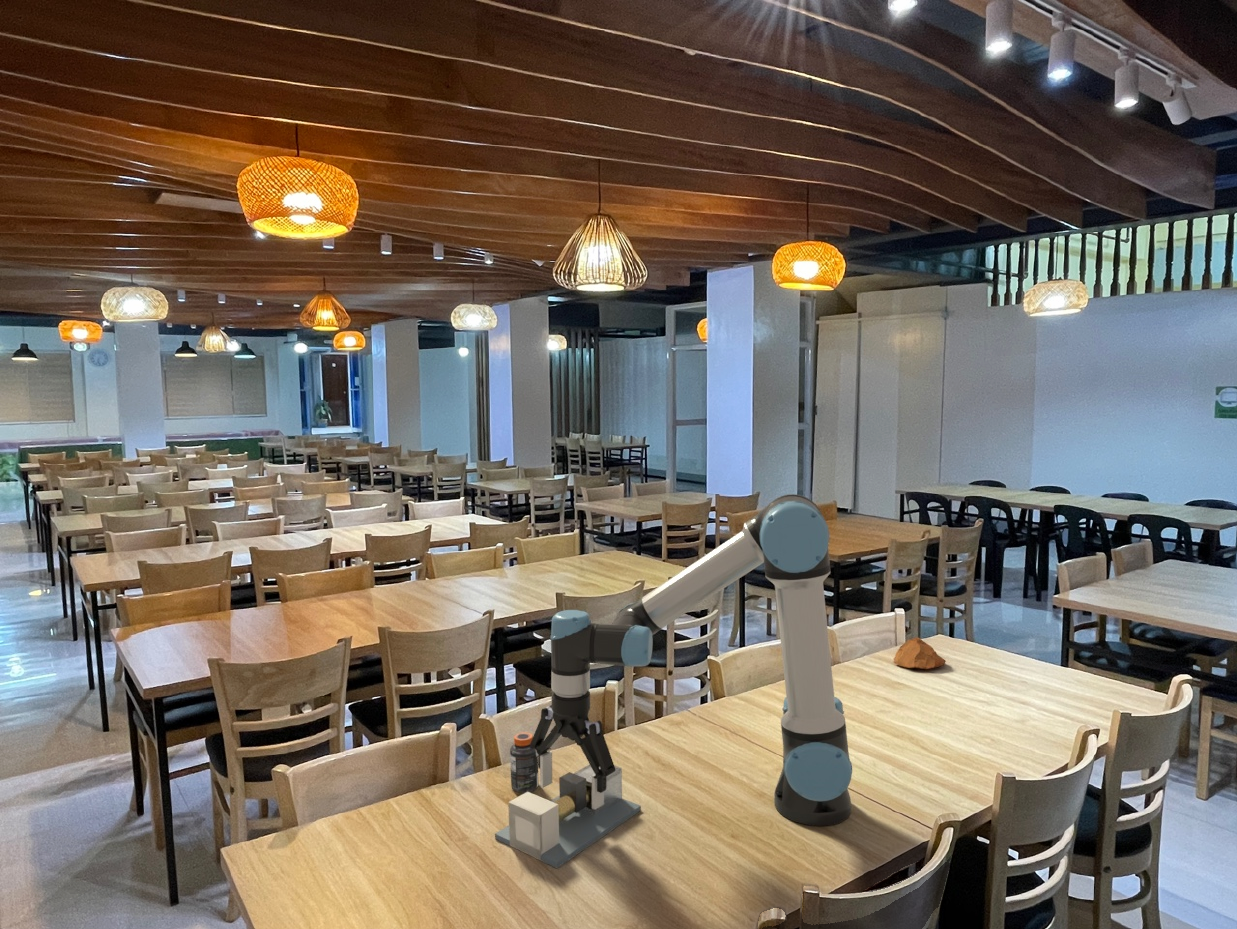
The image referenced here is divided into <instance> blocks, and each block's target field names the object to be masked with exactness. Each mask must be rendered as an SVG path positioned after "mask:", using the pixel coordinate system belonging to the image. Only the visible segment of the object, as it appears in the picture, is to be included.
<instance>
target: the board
mask: <svg viewBox="0 0 1237 929" xmlns="http://www.w3.org/2000/svg"><path fill="white" fill-rule="evenodd" d="M559 798H560V795H558V796H556V797H554V798H553V799H552V800H550V801H551V802H554V801H556V800H558V799H559ZM641 807H642V805H640V804H638V803H635V802H633V801H629V800H627V799H625V798H622V799H621V800H619V801H618V802H616V803H614V804H613V805H611V806H610V807H608V808H607V809H605V810H604V811H602V812H601V813H599V814H598V815H596V816H595V815H593V814H590V813H588V812H585V811H583V810H581V811H579V812H577V813H575V812H574V813H572V814H571V815H569V816H567V817H566V818H564V819H563V820H561V821H559V843H558V844H557V845H555V846H554V847H552V848H551V849H549V850H548V851H546V852H545V853H543V854H542V855H540V857H541V861H540V862H542V863H545V864H547V865H549V866H551V867H553V868H556V869H559V867H561V866H563V865H564V864H566V862H568V861H570V860H571V859H572V858H574V857H575V856H577V855H578V854H580V853H582V851H584V850H586V849H587V848H588V847H590V846H591V845H593V844H594V843H596V842H598V841H599V840H601V838H603V837H604V836H606V835H607V834H608V833H610V832H612V831H613V830H615V829H616V828H617V827H619V826H620V825H622V824H623V823H625V822H626V821H628V820H629V819H631V818H632V817H634V816H635V815H636V814H638V813H639V812H641V811H642V808H641ZM494 839H495V840H497V841H500V842H501V843H503V844H505V845H507V846H509V847H511V846H510V837H509V825H507V826H506V827H504V828H502V829H501V830H499V831H496V832H495V833H494ZM512 845H514V844H512ZM516 845H517V844H516ZM532 853H533V852H532ZM537 856H538V855H536V857H537Z"/></svg>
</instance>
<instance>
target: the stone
mask: <svg viewBox="0 0 1237 929" xmlns="http://www.w3.org/2000/svg"><path fill="white" fill-rule="evenodd" d="M946 662H947V661H946V660H945V659H944V658H943V657H941V656H940V655H939V654H938V653H937V652H936V651H935V650H934V648H933V647H932V646H931V645H929V644H928V643H927V642H925V641H923V640H922V638H920V637H915V638H910V639H908V640H907V641H906V642H904V643H902V644H901V645H900V646H899V648H898V650H897V651H896V653H895V655H894V658H893V664H896V665H897V666H899V667H904V668H907V669H914V668H915V669H921V670H922V669H923V670H928V669H935V668H938V667H942V666H945V665H946Z"/></svg>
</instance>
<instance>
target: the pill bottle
mask: <svg viewBox="0 0 1237 929" xmlns="http://www.w3.org/2000/svg"><path fill="white" fill-rule="evenodd" d="M533 736H534V734H532V733H530V732H520V733H517V734H515V735H514V736H513V740H514V741H513V744H512V746H510V750H509V761H510V763H509V765H510V786H511V789H512V790H513V791H515V792H518V793H526V792H532V791H535V790H536V789H537V788H538V786H539V785H540V784H539V781H540V780H539V778H540V776H539V766H538V754H537V751H536V750H535V749H532V748H531V747H530V743H531V741H532V738H533Z"/></svg>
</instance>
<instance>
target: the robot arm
mask: <svg viewBox="0 0 1237 929" xmlns="http://www.w3.org/2000/svg"><path fill="white" fill-rule="evenodd" d="M829 543H830V530H829V527H828V524H827V520H825V518H824V516H823V513H822V512H821V510H820V509H819V507H818V506H817V504H816V503H815V502H814V501H812V500H811V499H809V498H808V497H806V496H804V495H801V494H800V495H799V494H792V493H791V494H790V493H789V494H784V495H781V496H778V497H777V498H775V499H773V500H772V501H771V502H770V503H768V504H767V505H766V506H765V507H764V508H763V509H762V510H760V511H759V512H758V513H756V514H755V515H754V516H752V517H751V518H749V519H748V520H746V521H745V522H744V523H743V526H742V530H741V531H739V532H738V533H736V534H735V535H734V536H732V537H731V538H729V539H728V540H726V541H724V542H723V543H722V544H720V545H719V546H717V547H715V548H714V549H712V550H711V551H710V552H708V553H707V554H705V555H703V556H702V557H701V558H699V559H697V560H696V561H694V562H693V563H691V564H690V565H689V566H687V567H685V568H684V569H683V570H681V571H680V572H678V573H676V574H675V575H673V576H672V577H671V578H669V579H668V580H666V581H665V582H663V583H662V584H660V585H659V586H658V587H656V588H654V589H652V590H651V591H650V592H648V593H647V594H644V596H642V597H640V598H639V599H638V600H636V601H635V602H631V603H628V604H627V605H626V606H624V607H623V608H621V609H620V610H619V611H618V613H617V614H616V617H615V619H614V620H613V622H612V623H611V624H606V623H605V624H604V623H603V624H601V623H593V622H592V620H591V618H590V614H589V613H588V612H586V611H584V610H579V609H567V610H562V611H561V610H560V611H558V612H556V613H555V614H554V615H553V616H552V618H551V628H550V629H551V630H550V631H551V632H550V634H551V635H550V636H549V637H550V638H549V639H550V649H551V650H550V654H551V672H550V673H551V675H550V677H551V680H550V682H551V686H550V687H551V690H552V692H551V704H550V705H548V706H546V707H544V708H542V709H541V712H540V720H539V722H538V724H537V727H536V729H535V732H534V733H533V738H532V741H531V743H530V747H531V748H532V749H535V750H536V751H537V754H538V769H539V771H540V773H539V775H540V776H539V778H540V780H539V781H540V784H539V785H540V787H539V788H543V789H544V788H546V787H548V786H549V785H551V784H552V783H553V751H551V749H552V748H551V747H552V746H553V745H554V744H555V743H556V742H557V740H558V739H559V738H560V737H563V738H568V739H569V740H571V741H574V742H575V744H576V745H577V746H579V747H580V749H581V750H582V753H583V755H584V756H585V758H586V760H587V762H588V765H589V764H590V766H591V767H592V769H593V771H594V773H595V774H594V775H592V809H594V810H595V809H597V808H599V807H600V806H602V805H603V804H604V791H605V790H606V788H607V778H606V776H608V775H610V774H612V773H613V772H615V766H616V765H615V764H614V761H613V758H612V756H611V753H610V750H609V747H608V745H607V741H606V738H605V736H604V733H603V723H602V721H601V720H597V721H595V722H594V721H590V719H589V712H590V709H591V692H590V688H591V678H590V677H591V671H590V670H591V664H594V665H595V664H596V665H597V664H598V665H609V666H610V665H612V666H623V667H624V666H625V667H630V668H633V667H647V666H648V665H649V664H650V662H651V660H652V656H653V655H652V654H653V636H654V635H655V634H656V633H658V632H659V631H661V630H662V629H663V628H665V627H666V626H668V625H670V624H671V623H673V622H674V621H676V620H678V619H679V618H681V617H682V616H683V615H685V614H686V613H688V612H689V611H691V610H693V609H694V608H696V607H698V606H699V605H700V604H702V603H703V602H705V601H706V600H708V599H710V598H711V597H713V596H714V595H716V594H717V593H719V592H720V591H722V590H724V589H725V588H727V587H728V586H730V585H731V584H733V583H734V582H736V581H737V580H739V579H740V578H742V577H744V576H746V575H747V574H748V573H750V572H751V571H753V570H754V569H756V568H757V567H759V566H761V565H762V564H763V565H764V574H765V579H767V580H768V581H769V582H771V583H772V584H773V585H774V589H775V590H774V591H775V599H776V609H777V617H778V628H779V638H780V647H781V658H782V665H783V667H782V668H783V675H784V677H783V678H784V685H785V686H784V688H785V694H786V696H785V697H784V699H783V707H782V711H783V714H782V716H781V718H780V727H781V738H782V749H783V750H782V755H783V757H782V759H783V760H782V763H783V764H782V770H781V772H780V775H779V778H778V781H777V784H776V786H775V790H774V793H773V794H774V798H773V800H774V807H775V810H777V812H778V813H779V815H782V816H783V817H785V818H786V819H789V820H790V821H793V822H795V823H798V824H803V825H807V826H817V827H818V826H819V827H823V826H824V827H825V826H832V825H837V824H839V823H842V822H844V821H846V820H847V819H848V818H849V817H850V816H851V812H852V800H851V795H850V792H849V789H848V787H849V786H850V784H851V780H852V776H853V775H852V774H853V764H852V761H851V760H850V753H849V745H848V734H847V724H846V717H845V716H844V714H845V711H844V709H843V708H844V706H843V702H842V700H840V698H838V697H836V696H835V690H834V682H833V681H834V680H833V679H834V678H833V671H832V661H831V650H830V640H829V628H828V620H827V618H828V617H827V610H826V600H825V598H826V597H825V590H824V588H825V587H824V581H825V580H826V579H827V578H828V576H829V575H831V564H830V563H831V561H830V552H829V551H830V550H829V546H830V544H829ZM553 721H554V726H553V727H552V729H551V730H550V732H549V733H548V731H549V729H550V727H551V724H552V722H553ZM547 734H548V735H547ZM582 737H583V738H582ZM599 767H600V768H601V769H599Z"/></svg>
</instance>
